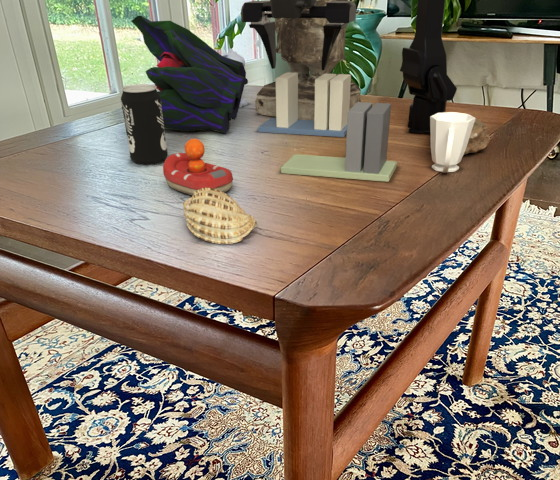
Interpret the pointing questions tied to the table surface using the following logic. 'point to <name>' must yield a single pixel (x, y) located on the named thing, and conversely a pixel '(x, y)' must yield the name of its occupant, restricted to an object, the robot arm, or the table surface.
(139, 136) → the beverage can
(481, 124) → the rock
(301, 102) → the sculpture
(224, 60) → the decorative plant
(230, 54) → the toy figurine
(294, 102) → the white box
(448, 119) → the cup
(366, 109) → the green base board
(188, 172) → the toy boat
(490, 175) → the table surface
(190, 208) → the seashell
